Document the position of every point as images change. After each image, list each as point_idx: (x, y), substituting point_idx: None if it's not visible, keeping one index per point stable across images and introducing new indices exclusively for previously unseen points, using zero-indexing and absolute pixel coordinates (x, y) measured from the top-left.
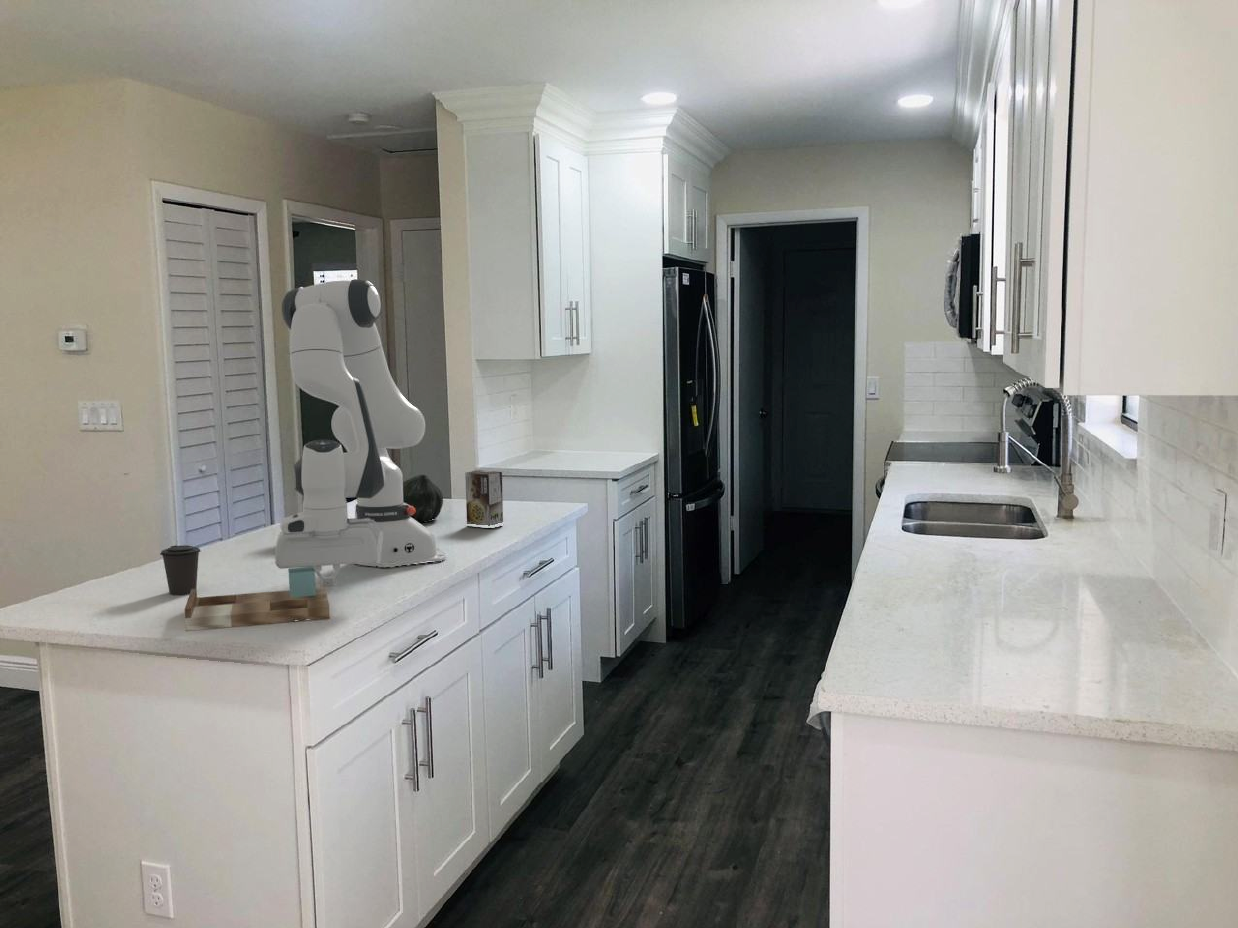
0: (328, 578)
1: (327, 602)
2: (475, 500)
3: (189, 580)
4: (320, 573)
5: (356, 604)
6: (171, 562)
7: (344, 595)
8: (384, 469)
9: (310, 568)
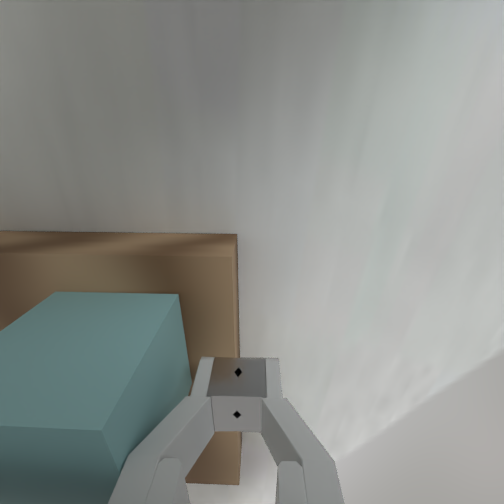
0: (241, 429)
1: (235, 454)
2: None
3: None
4: (186, 466)
5: (342, 347)
6: None
7: (328, 196)
8: None
9: (92, 475)
